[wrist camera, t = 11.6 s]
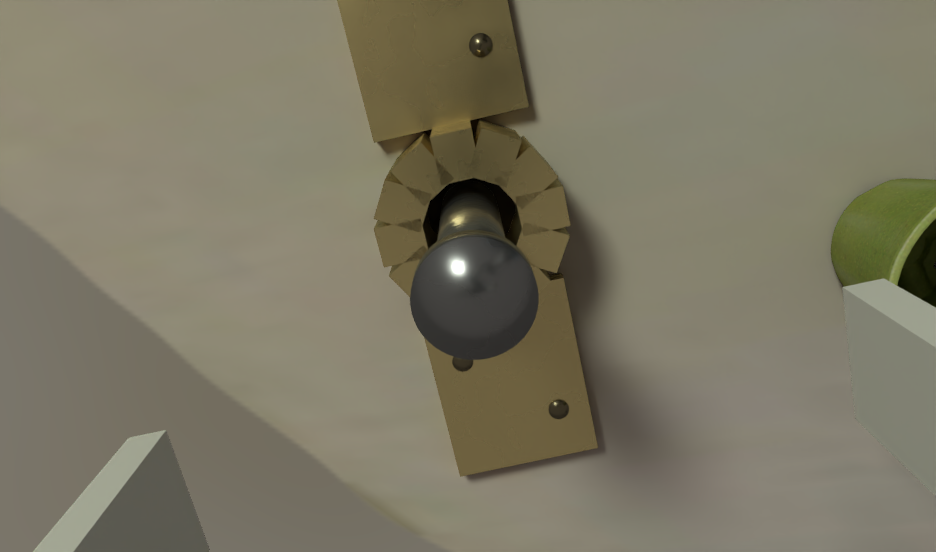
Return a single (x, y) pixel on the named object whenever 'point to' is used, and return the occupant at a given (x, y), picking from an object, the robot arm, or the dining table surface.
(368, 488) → the dining table surface
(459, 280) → the pin
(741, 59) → the dining table surface
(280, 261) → the dining table surface
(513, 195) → the hinge
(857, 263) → the plant pot
